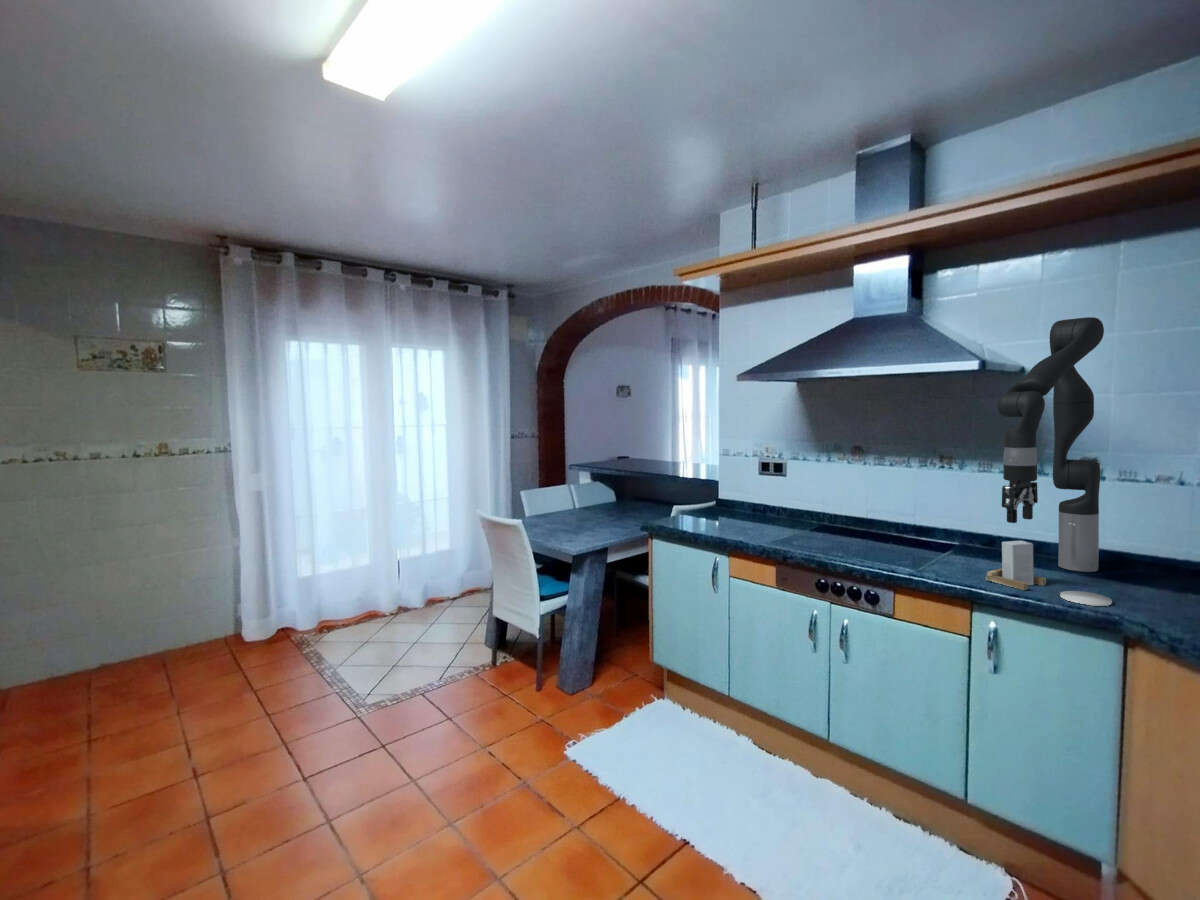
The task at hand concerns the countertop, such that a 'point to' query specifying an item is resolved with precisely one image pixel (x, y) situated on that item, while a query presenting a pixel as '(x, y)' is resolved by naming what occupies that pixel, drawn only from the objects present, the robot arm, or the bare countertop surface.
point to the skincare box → (1018, 561)
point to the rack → (997, 578)
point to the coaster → (1086, 598)
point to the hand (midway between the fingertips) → (1019, 520)
